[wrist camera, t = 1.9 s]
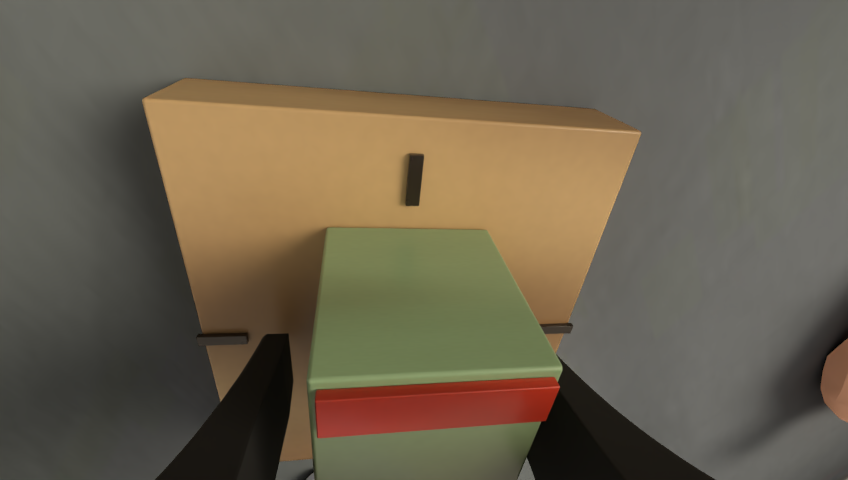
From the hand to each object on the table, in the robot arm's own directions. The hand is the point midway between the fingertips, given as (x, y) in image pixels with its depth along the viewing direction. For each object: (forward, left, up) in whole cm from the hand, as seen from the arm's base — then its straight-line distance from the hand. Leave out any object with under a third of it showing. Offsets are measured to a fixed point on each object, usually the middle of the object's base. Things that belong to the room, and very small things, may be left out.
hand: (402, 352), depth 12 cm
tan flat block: (0, 0, -3) cm, 3 cm away
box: (0, 0, -1) cm, 1 cm away
